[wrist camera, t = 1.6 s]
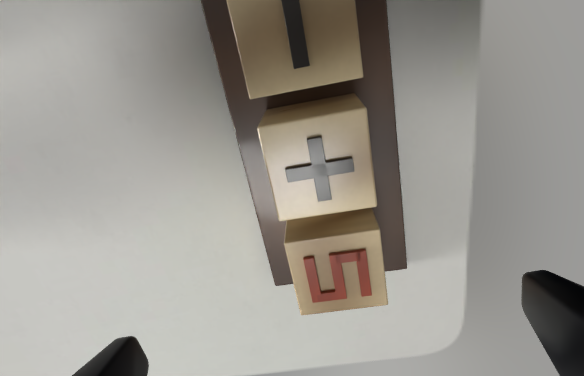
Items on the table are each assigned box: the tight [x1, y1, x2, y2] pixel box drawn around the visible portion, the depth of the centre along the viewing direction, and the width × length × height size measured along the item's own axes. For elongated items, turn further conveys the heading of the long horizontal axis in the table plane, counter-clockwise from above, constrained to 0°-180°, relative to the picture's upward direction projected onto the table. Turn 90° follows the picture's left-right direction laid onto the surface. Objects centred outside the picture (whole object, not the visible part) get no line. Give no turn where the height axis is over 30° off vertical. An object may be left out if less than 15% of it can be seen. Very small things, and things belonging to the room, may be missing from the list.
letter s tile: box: [284, 207, 388, 315], centre depth 18 cm, size 4×4×4 cm
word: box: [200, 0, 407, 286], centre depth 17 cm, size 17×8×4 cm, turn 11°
